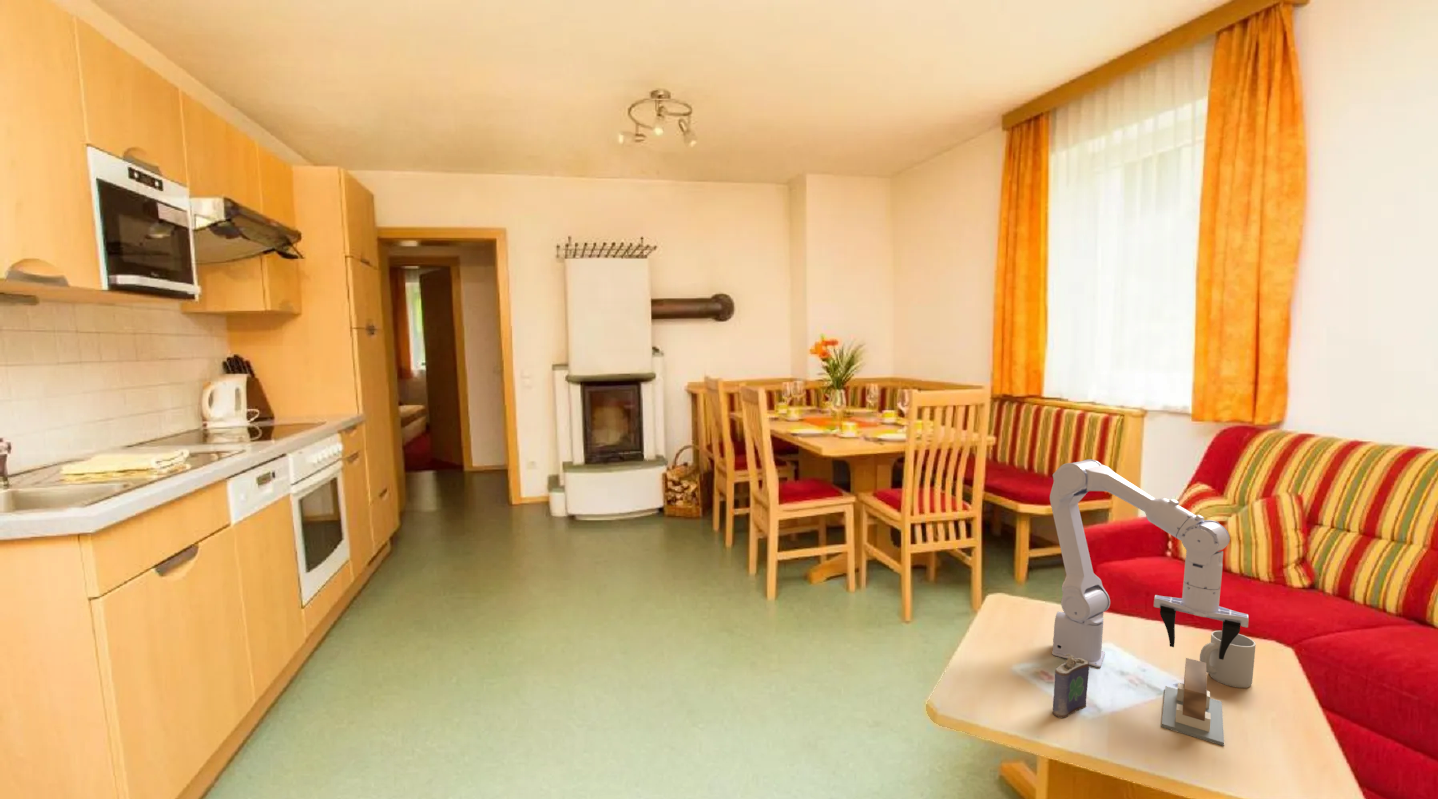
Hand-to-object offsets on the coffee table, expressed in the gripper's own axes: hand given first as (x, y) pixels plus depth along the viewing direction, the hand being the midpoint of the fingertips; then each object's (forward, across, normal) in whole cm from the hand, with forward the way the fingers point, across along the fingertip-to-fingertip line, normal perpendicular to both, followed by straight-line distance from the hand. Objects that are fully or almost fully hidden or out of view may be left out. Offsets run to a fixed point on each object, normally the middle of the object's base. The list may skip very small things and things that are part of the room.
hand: (1196, 651), depth 124 cm
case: (+7, 0, -6) cm, 9 cm away
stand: (+10, 0, -6) cm, 12 cm away
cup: (+11, +5, +14) cm, 18 cm away
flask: (+11, -19, -18) cm, 28 cm away
